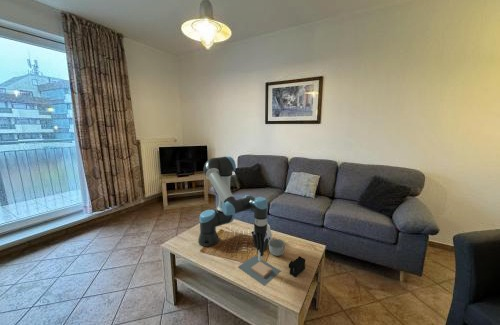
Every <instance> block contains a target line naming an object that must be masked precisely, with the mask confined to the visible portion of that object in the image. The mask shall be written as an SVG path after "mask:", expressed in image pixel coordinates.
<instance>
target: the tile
mask: <svg viewBox="0 0 500 325" xmlns="http://www.w3.org/2000/svg"><path fill="white" fill-rule="evenodd" d="M251 270H252V271H254V272H255V273H257V274H258V275H260V276H261V277H263V278H264V277H266V276H267V275H268V274H269V273H270V272H272V268H270V267H268V266H267V265H265V264H263V263H262V262H258V263H257V264H255V265H254V266H253V267H251Z"/></svg>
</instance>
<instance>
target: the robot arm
mask: <svg viewBox="0 0 500 325" xmlns="http://www.w3.org/2000/svg"><path fill="white" fill-rule="evenodd" d="M203 165H204V166H203V174H204V176H205V177H206V179H207V180H209V182H210V184H211V185H212V186H213V188H214V191H215V192H216V194H217V195H218V206H216V210H214V209H207V210H206V209H205V210H204V211H202V212H201V213H200V214H199V220H198V221H199V231H200V232H199V235H198V240H197V241H198V244H199V245H200V246H202V247H205V246H207V247H212V245H213V246H214V245H216V244H217V243H218V242H219V236H218V233H217V229H216V228H218V227H221V226H223V225H227V224H228V225H229V224H230V223H233V221H234V220H235V214H239V213H243V212H246V211H252V212H253V215H254V216H253V217H254V224H253V229H254V230H253V231H250V233H251V235H252V240H253V244H254V248H255V249H256V250H257V251H256V253H257V257H258V260H259V261H261V260H263V259H264V258H263V256H264V255H265V254H264V252H266V251H267V250H268V247H269V244H268V242H269V240H270V237H269V238H268V237H267V233H266V231H267V223H268V199H267V198H266V197H265V196H263V197H262V196H258V197H254V196H252V195H249V194H245V195H244V196H242V198H238V199H236V198H235V196H234V195H233V193H232V191H231V177H232V176H233V172H235V171H236V168H237V167H236V161H235V160H234V158H233V157H232V156H220V157H219V156H218V157H212V158H211V157H210V158H209V159H207V161H206V162H205V163H204V164H203ZM264 240H265V242H264Z"/></svg>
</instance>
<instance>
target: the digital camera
mask: <svg viewBox="0 0 500 325" xmlns="http://www.w3.org/2000/svg"><path fill="white" fill-rule="evenodd" d="M288 268H289V274H290V276H293V277H294V278H297V277H298V276H299V275H300V274H302V272H303V271H304V270H305V269H306V258H304V257H302V256H297V258H296V259H294V260H290V261H289V263H288Z"/></svg>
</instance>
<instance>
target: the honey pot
mask: <svg viewBox="0 0 500 325" xmlns="http://www.w3.org/2000/svg"><path fill="white" fill-rule="evenodd" d="M266 233H267V237H268V238H269V237H270V240H269V241H271V240H273V233H272V230H271V226H270V224H269V223H268V222H267V231H266ZM264 242H265V240H264ZM268 245H269V242H268Z"/></svg>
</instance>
